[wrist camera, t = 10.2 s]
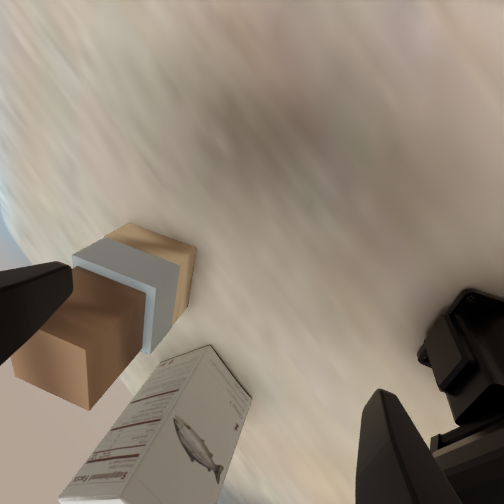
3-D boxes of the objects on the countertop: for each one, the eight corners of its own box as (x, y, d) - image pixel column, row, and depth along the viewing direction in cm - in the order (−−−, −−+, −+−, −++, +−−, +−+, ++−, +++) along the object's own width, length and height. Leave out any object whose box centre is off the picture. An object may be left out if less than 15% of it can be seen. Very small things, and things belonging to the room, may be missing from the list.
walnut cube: (146, 293, 19) (85, 349, 14) (142, 348, 21) (89, 411, 17) (77, 265, 19) (-1, 312, 15) (81, 322, 22) (15, 376, 17)
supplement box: (255, 399, 29) (197, 578, 18) (199, 410, 32) (122, 567, 21) (211, 341, 27) (118, 500, 16) (157, 360, 31) (51, 502, 20)
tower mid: (180, 265, 21) (155, 288, 18) (171, 327, 24) (149, 355, 21) (105, 237, 22) (72, 255, 19) (106, 300, 25) (77, 323, 22)
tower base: (198, 246, 23) (179, 264, 21) (188, 304, 26) (171, 326, 24) (130, 222, 24) (104, 236, 22) (128, 281, 27) (105, 300, 25)
